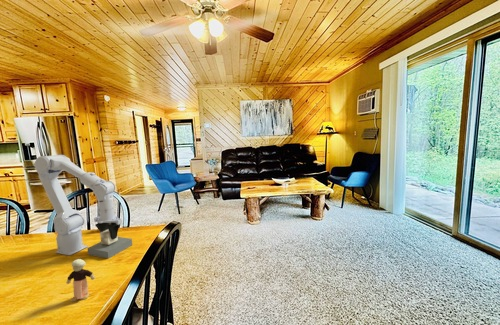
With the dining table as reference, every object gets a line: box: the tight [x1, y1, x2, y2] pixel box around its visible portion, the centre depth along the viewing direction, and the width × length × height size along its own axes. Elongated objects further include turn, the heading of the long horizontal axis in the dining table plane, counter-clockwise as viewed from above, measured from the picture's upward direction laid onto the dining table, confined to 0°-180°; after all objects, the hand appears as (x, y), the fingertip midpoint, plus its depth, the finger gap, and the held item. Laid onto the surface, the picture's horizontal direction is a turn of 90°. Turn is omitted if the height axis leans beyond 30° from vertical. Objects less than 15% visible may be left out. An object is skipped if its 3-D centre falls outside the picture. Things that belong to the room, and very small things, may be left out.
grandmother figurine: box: [65, 258, 96, 302], centre depth 66 cm, size 8×4×13 cm, turn 114°
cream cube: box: [99, 230, 119, 245], centre depth 95 cm, size 4×4×5 cm
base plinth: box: [87, 236, 133, 259], centre depth 96 cm, size 12×12×3 cm
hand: (109, 237), depth 96 cm, fingers open, 4 cm apart
